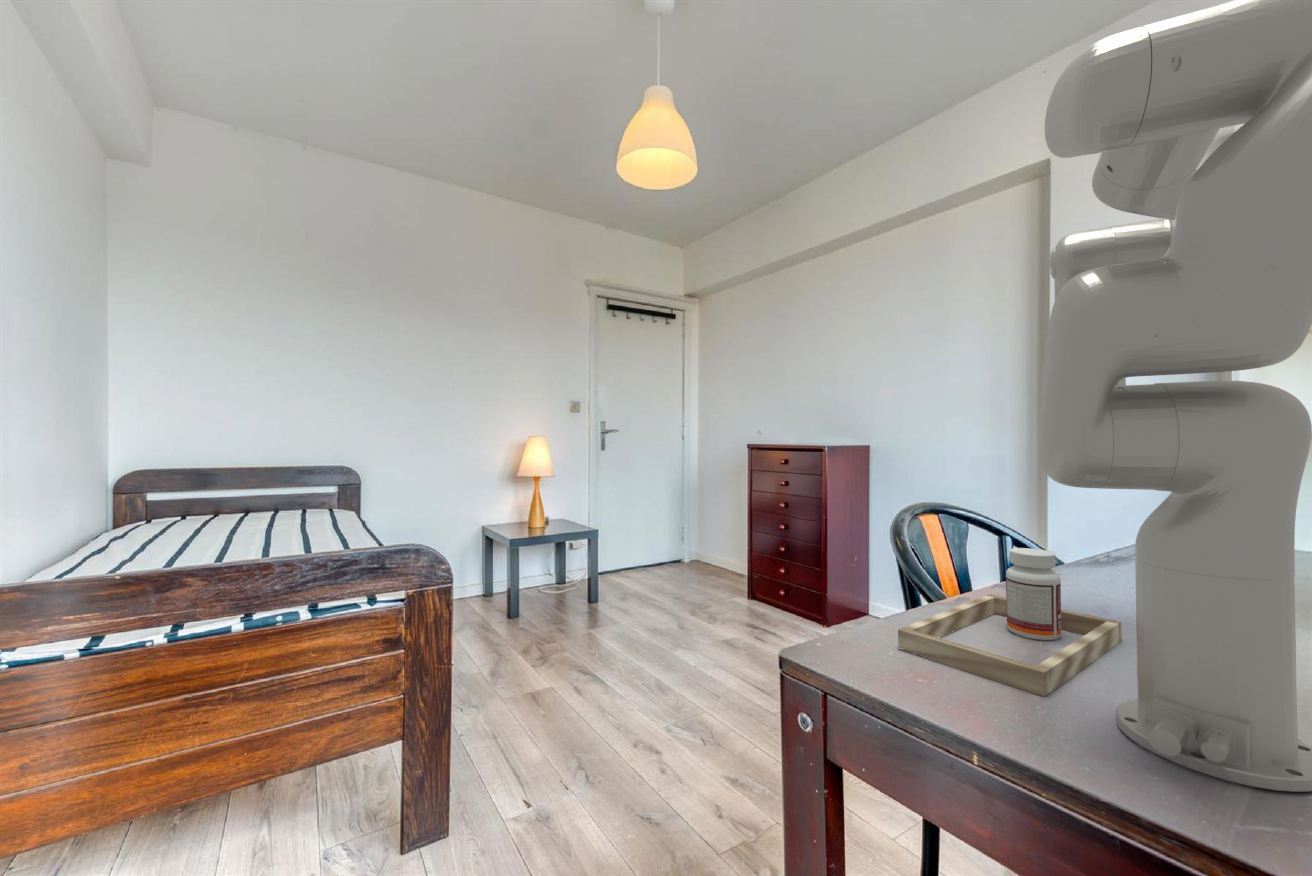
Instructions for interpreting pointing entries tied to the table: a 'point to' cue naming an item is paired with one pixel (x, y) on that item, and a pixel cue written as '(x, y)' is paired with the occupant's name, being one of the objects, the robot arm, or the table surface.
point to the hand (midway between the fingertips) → (1089, 449)
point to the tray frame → (1005, 670)
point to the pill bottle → (1033, 594)
